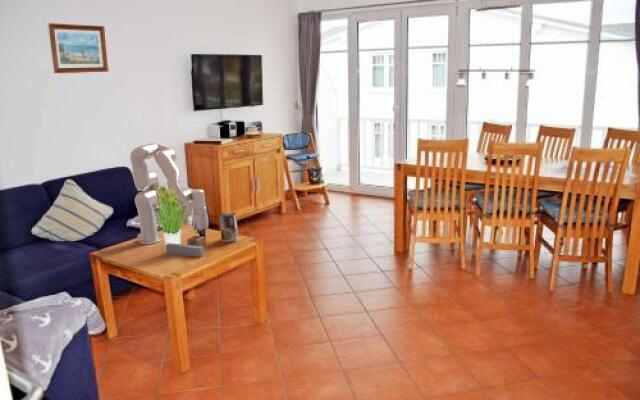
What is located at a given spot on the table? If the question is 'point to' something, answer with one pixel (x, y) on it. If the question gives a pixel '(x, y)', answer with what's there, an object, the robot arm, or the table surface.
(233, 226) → the coffee box
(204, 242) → the walnut block
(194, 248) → the slate rail
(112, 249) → the table surface
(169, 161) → the robot arm
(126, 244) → the table surface
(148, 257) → the table surface
